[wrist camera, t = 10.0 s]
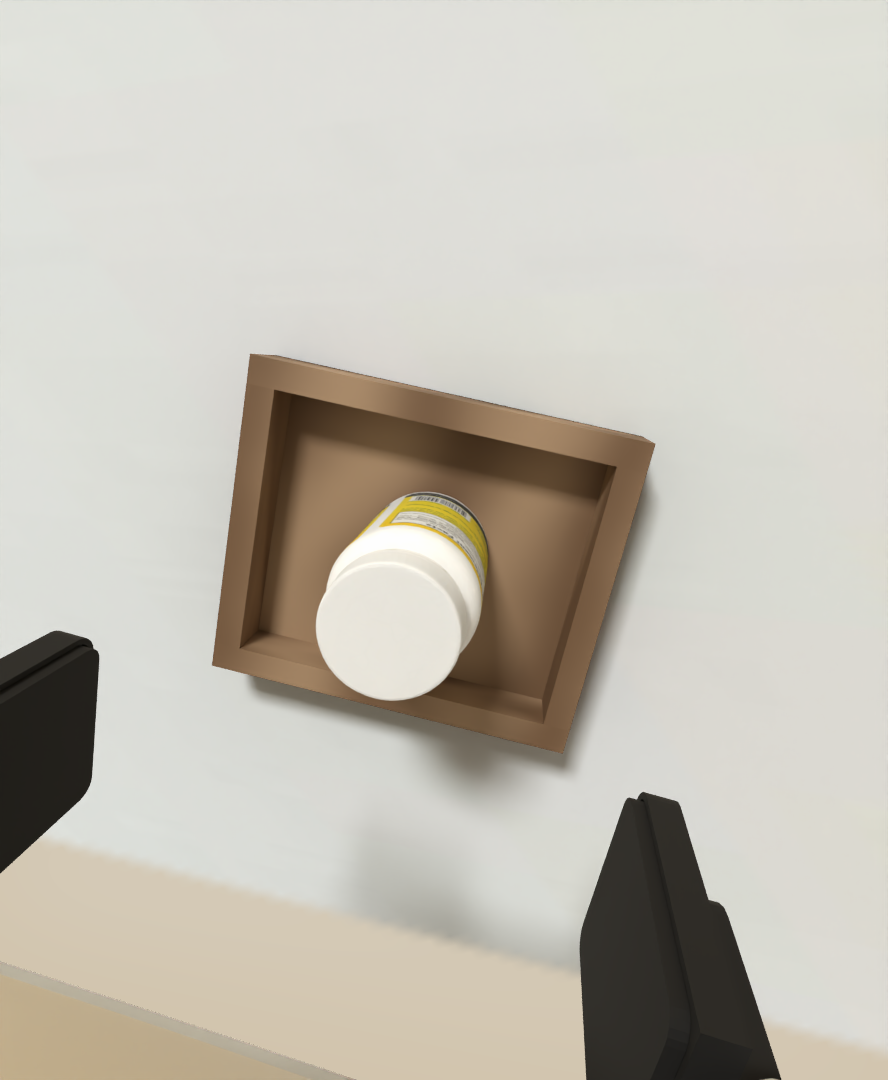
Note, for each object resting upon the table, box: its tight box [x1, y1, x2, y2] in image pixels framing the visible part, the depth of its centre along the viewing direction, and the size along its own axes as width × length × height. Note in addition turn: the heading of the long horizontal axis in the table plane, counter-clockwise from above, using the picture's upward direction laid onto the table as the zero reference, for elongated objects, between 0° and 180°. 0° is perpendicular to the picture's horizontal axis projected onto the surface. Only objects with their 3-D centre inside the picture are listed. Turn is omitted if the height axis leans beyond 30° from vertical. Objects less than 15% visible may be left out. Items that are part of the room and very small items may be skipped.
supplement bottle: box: [316, 492, 489, 701], centre depth 21 cm, size 5×5×8 cm
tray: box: [212, 354, 655, 754], centre depth 25 cm, size 14×12×2 cm
